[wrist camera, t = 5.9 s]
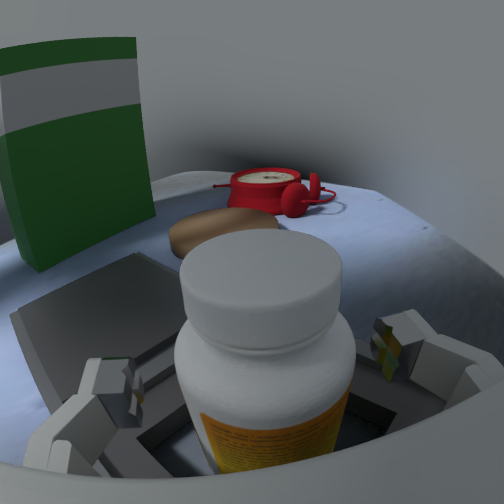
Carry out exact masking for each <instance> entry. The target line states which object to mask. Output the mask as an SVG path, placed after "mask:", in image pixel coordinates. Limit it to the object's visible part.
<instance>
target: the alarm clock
mask: <svg viewBox="0 0 504 504" xmlns="http://www.w3.org/2000/svg"><path fill="white" fill-rule="evenodd" d="M230 183H231V184H226V185H213V188H216V187H231V193H230V197H229V199H228V207H229V208H235V207H237V208H251V209H257V210H261V211H265V212H267V213H270V214H271V215H277V214H284V215H286V216H287V217H291V218H295V217H299V216H302V215H303V214H304V213H305V212H306V210H307V209H308V206H309V203H310V204H316V203H322V202H328V201H330V200H332V199H333V198H335V196H336V193H335V192H334V191H331V190H326V189H325V187H321V185H320V179H319V177H318V175H317V174H315V173H310V191H309V190H308V189H307V187H306V186H305V185H303V184H301V176H300V173H299V172H297V171H294V170H290V169H284V168H257V169H249V170H244V171H240V172H237V173H235V174H233V175H232V176H231V180H230ZM321 190H322V191H327V192H331V193H333V194H334V196H333V197H331V198H330V199H327V200H319V198H320V193H321Z"/></svg>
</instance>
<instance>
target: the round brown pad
mask: <svg viewBox="0 0 504 504" xmlns="http://www.w3.org/2000/svg"><path fill="white" fill-rule="evenodd" d="M251 229H278V220H277V219H276V218H275V217H274V216H273V215H271V214H270V213H267V212H265V211H261V210H257V209H251V208H237V207H235V208H219V209H212V210H207V211H203V212H199V213H195V214H193V215H190V216H187V217H185V218H183V219H181V220H179V221H178V222H176V223H175V224H174V225H173V226H172V227H171V229H170V231H169V238H170V244H171V249H172V252H173V253H174V254H175V255H176V256H177V257H178V258H180V259H182V260H184V258H185V257H186V255H187V254H188V253H189V252H190V251H192V250H193V249H194V248H195V247H197V246H198V245H200V244H202V243H203V242H205V241H207V240H210V239H212V238H215V237H217V236H220V235H224V234H227V233H232V232H237V231H243V230H251Z"/></svg>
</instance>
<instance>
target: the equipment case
mask: <svg viewBox="0 0 504 504" xmlns="http://www.w3.org/2000/svg"><path fill="white" fill-rule="evenodd" d="M179 274H180V273H178V272H176V271H174V270H172V269H170V268H169V267H167V266H165V265H163V264H161V263H159V262H157V261H155V260H153V259H151V258H149V257H147V256H146V255H144V254H142V253H140V252H138V253H136V254H135V253H133V254H131V255H129V256H127V257H124V258H122V259H120V260H118V261H116V262H113V263H111V264H109V265H107V266H105V267H103V268H100V269H98V270H96V271H94V272H92V273H90V274H88V275H86V276H83V277H81V278H79V279H77V280H75V281H73V282H71V283H69V284H67V285H65V286H63V287H61V288H59V289H56V290H54V291H52V292H50V293H48V294H46V295H44V296H42V297H40V298H38V299H36V300H34V301H32V302H30V303H28V304H26V305H24V306H22V307H20V308H18V311H16V312H14V313H12V314H10V319H11V322H12V325H13V328H14V330H15V333H16V336H17V339H18V342H19V344H20V347H21V349H22V352H23V355H24V357H25V360H26V362H27V364H28V367H29V369H30V372H31V374H32V376H33V378H34V381H35V383H36V385H37V387H38V389H39V392H40V394H41V396H42V398H43V400H44V402H45V404H46V406H47V408H48V410H49V412H50V414H51V415H52V414H53V413H54V412H55V411H57V410H58V409H59V408H60V407H61V406H62V405H63V404H64V403H65V402H66V401H67V400H68V399H69V398H70V397H71V396H72V395H75V394H78V390H79V386H80V383H81V379H82V376H83V372H84V369H85V366H86V362H87V360H88V359H89V358H105V357H132V358H133V359H134V361H135V364H136V369H135V371H136V372H137V373H139V374H140V376H141V378H142V381H143V385H144V402H143V403H142V404H141V405H140V406H141V408H142V410H143V420H142V428H125V429H118V431H117V433H116V434H115V435H114V437H113V438H112V440H111V441H110V442H109V444H108V445H107V447H106V448H105V449H104V451H103V452H102V454H101V455H100V457H99V458H98V459H97V461H96V462H95V464H94V465H93V466H92V467H93V468H94V469H95V470H96V471H97V472H98V473H99V474H100V475H101V476H102V477H109V478H137V479H155V478H174V477H173V476H172V475H171V474H170V473H169V472H168V471H167V470H166V469H165V468H164V467H163V466H162V465H161V464H160V463H159V462H158V461H157V460H156V459H155V458H154V457H153V456H152V455H151V454H150V453H149V451H151V450H152V449H154V448H155V447H156V446H158V445H159V444H161V443H162V442H163V441H165V440H166V439H167V438H169V437H170V436H172V435H173V434H174V433H176V432H177V431H178V430H180V429H181V428H182V427H184V426H185V425H186V424H188V423H189V422H190V421H192V419H191V417H190V414H189V411H188V408H187V405H186V402H185V399H184V397H183V394H182V391H181V388H180V385H179V382H178V378H177V373H176V368H175V362H174V349H175V344H176V340H177V337H178V334H179V332H180V330H181V328H182V327H183V325H184V323H185V322H186V321H187V319H188V318H187V315H186V312H185V308H184V300H183V293H182V287H181V282H180V275H179ZM354 340H355V345H356V361H355V368H354V373H353V378H352V382H351V387H350V391H349V395H348V399H347V403H346V406H345V410H346V411H348V412H350V413H352V414H354V415H357V416H359V417H361V418H363V419H365V420H367V421H370V422H372V423H374V424H376V425H379V426H381V427H383V428H385V429H388V430H387V432H386V433H385V435H388V434H391V433H393V432H396V431H398V430H401V429H404V428H406V427H408V426H411V425H413V424H416V423H418V422H420V421H423V420H425V419H427V418H429V417H432V416H434V415H436V414H438V413H440V412H442V411H443V409H444V407H445V406H446V404H447V401H445V400H444V399H442V398H441V397H439V396H437V395H436V394H434V393H432V392H431V391H429V390H427V389H426V388H424V387H423V386H421V385H419V384H418V383H416V382H415V381H413V380H411V379H410V377H409V378H406V379H403V380H400V381H397V382H393V383H389V382H388V380H387V379H386V377H385V375H384V374H383V372H382V366H383V365H381V364H379V363H377V362H376V361H375V360H374V358H373V356H372V353H371V347H370V343H367V342H365V341H362V340H360V339H357V338H355V337H354ZM385 435H384V436H385Z"/></svg>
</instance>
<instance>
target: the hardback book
mask: <svg viewBox="0 0 504 504" xmlns="http://www.w3.org/2000/svg"><path fill="white" fill-rule="evenodd" d="M0 182H1V186H2V191H3V195H4V200H5V204H6V207H7V212H8V215H9V219H10V223H11V226H12V229H13V233H14V236H15V239H16V243H17V246H18V249H19V252H20V255H21V258H22V259H23V260H25V261H26V262H27V263H28V264H29V265H30V266H32V267H33V268H34V269H35V270H36V271H38V272H39V273H41V272H42V271H44V270H46V269H48V268H50V267H52V266H54V265H56V264H57V263H59V262H61V261H63V260H65V259H67V258H69V257H71V256H73V255H75V254H77V253H79V252H81V251H83V250H85V249H87V248H89V247H91V246H93V245H95V244H97V243H99V242H101V241H103V240H105V239H107V238H109V237H111V236H113V235H115V234H117V233H119V232H121V231H123V230H125V229H128V228H130V227H132V226H134V225H136V224H138V223H140V222H142V221H145V220H147V219H149V218H151V217H153V216H156V215H155V209H154V203H153V197H152V190H151V184H150V177H149V170H148V164H147V156H146V148H145V140H144V132H143V122H142V113H141V103H140V91H139V79H138V66H137V50H136V37H97V38H80V39H67V40H66V39H65V40H55V41H46V42H39V43H31V44H25V45H18V46H13V47H7V48H2V49H0Z"/></svg>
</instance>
